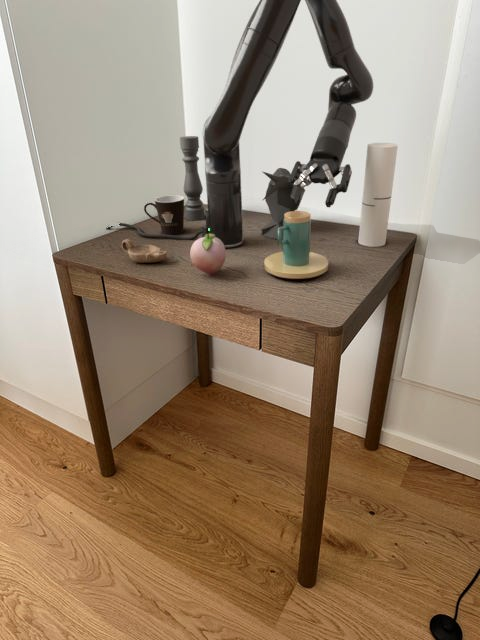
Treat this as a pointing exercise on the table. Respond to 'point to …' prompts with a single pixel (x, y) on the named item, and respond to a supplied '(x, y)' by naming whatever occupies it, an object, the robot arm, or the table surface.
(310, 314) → the table surface
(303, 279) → the turntable base
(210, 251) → the decorative fruit
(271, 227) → the narwhal figurine
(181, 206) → the coffee mug
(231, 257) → the table surface
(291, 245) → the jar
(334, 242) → the table surface
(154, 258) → the oil lamp
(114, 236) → the table surface
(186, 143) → the candle holder
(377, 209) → the cylindrical container
